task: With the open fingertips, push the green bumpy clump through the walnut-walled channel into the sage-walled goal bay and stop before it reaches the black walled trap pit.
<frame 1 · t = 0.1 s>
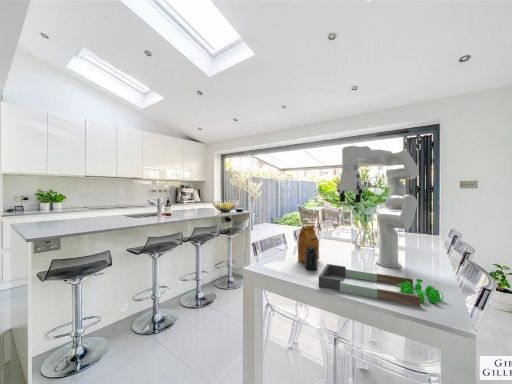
hand: (349, 202, 116), 37 cm above the table, tool pointing down, fingers open, 9 cm apart
supplement bottle: (311, 269, 123), on the table
green bumpy clump: (419, 297, 90), on the table
trap pit: (333, 280, 106), on the table
walnut channel: (395, 292, 94), on the table
coffee package: (308, 261, 137), on the table
goal bay: (359, 285, 101), on the table
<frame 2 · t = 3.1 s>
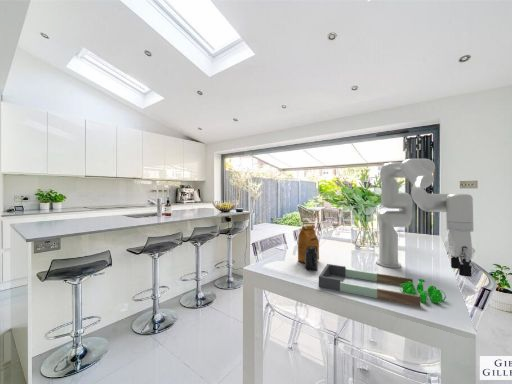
hand: (460, 271, 84), 12 cm above the table, tool pointing down, fingers open, 9 cm apart
nothing on the table moved.
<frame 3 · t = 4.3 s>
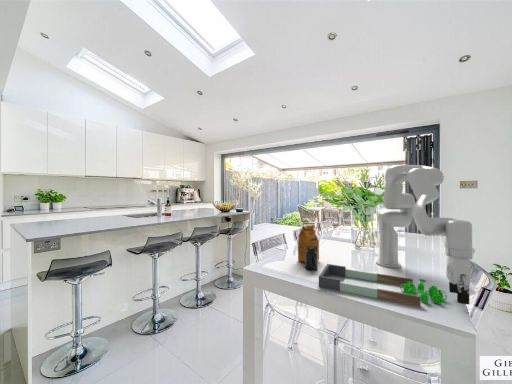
hand: (458, 297, 85), 2 cm above the table, tool pointing down, fingers open, 9 cm apart
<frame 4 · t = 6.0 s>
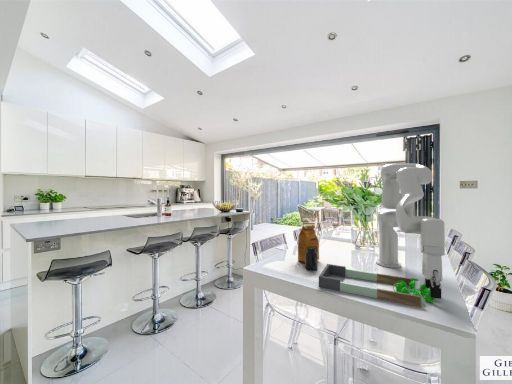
hand: (432, 293, 88), 2 cm above the table, tool pointing down
green bumpy clump: (414, 296, 91), on the table, touching gripper
everything else where it was.
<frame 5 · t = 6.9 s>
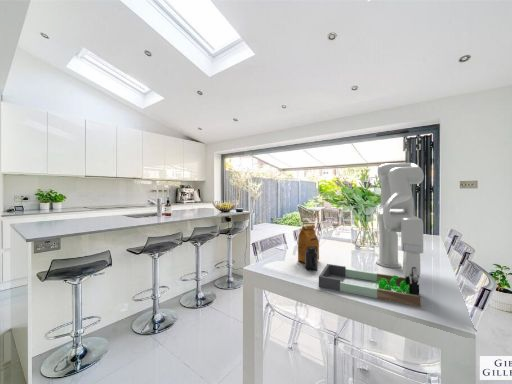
hand: (412, 289, 91), 2 cm above the table, tool pointing down
green bumpy clump: (395, 293, 94), on the table, touching gripper
everything else where it was.
when the fingers open (2 cm above the table, at t = 8.5 s): green bumpy clump stays where it is, on the table.
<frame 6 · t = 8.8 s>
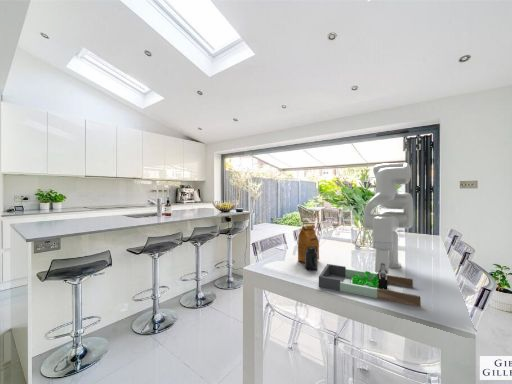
hand: (382, 284, 96), 2 cm above the table, tool pointing down, fingers open, 9 cm apart
green bumpy clump: (367, 288, 99), on the table, touching gripper
everything else where it was.
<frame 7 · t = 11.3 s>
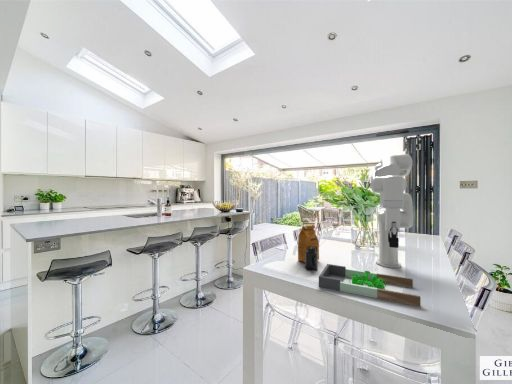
hand: (393, 244, 95), 20 cm above the table, tool pointing down, fingers open, 9 cm apart
green bumpy clump: (367, 287, 100), on the table
everything else where it was.
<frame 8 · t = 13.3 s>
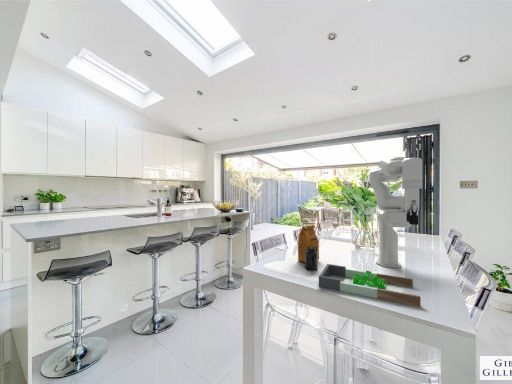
hand: (412, 223, 101), 28 cm above the table, tool pointing down, fingers open, 9 cm apart
nothing on the table moved.
at the end: green bumpy clump inside the target area (3.8 cm from its centre), on the table; green bumpy clump touching table; green bumpy clump tilted 0° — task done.
